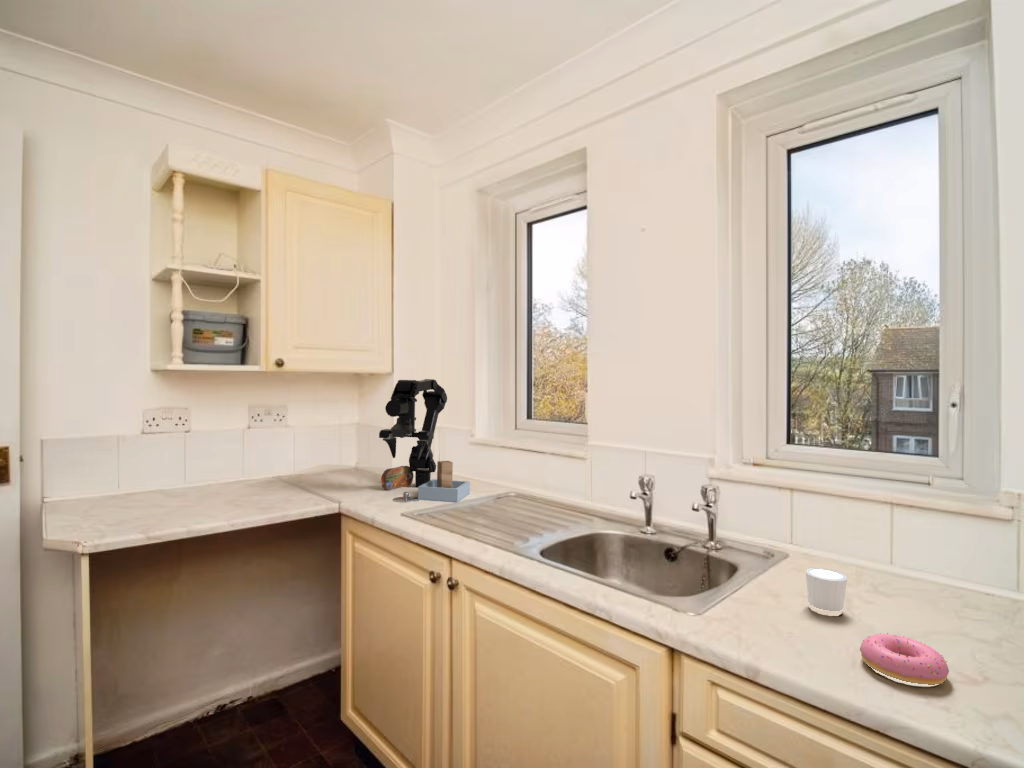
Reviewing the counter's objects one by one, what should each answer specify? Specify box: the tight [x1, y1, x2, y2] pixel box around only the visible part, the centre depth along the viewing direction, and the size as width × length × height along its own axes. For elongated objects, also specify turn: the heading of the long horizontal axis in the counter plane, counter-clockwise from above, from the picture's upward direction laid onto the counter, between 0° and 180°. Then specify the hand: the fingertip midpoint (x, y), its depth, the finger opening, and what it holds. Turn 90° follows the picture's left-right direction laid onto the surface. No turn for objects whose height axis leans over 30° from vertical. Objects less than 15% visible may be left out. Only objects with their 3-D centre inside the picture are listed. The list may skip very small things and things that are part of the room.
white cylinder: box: [805, 567, 848, 611], centre depth 104 cm, size 7×7×7 cm
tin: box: [380, 465, 414, 491], centre depth 206 cm, size 15×3×8 cm, turn 148°
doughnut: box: [859, 632, 950, 685], centre depth 83 cm, size 11×11×4 cm
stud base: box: [392, 491, 419, 504], centre depth 186 cm, size 9×9×3 cm
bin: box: [417, 478, 471, 503], centre depth 192 cm, size 14×14×5 cm
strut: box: [436, 460, 454, 488], centre depth 192 cm, size 4×4×12 cm
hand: (406, 458), depth 196 cm, fingers open, 9 cm apart
